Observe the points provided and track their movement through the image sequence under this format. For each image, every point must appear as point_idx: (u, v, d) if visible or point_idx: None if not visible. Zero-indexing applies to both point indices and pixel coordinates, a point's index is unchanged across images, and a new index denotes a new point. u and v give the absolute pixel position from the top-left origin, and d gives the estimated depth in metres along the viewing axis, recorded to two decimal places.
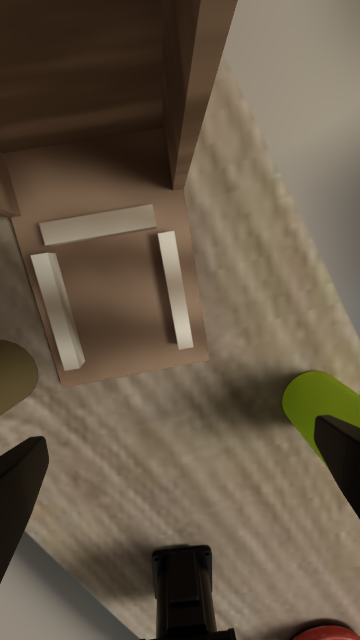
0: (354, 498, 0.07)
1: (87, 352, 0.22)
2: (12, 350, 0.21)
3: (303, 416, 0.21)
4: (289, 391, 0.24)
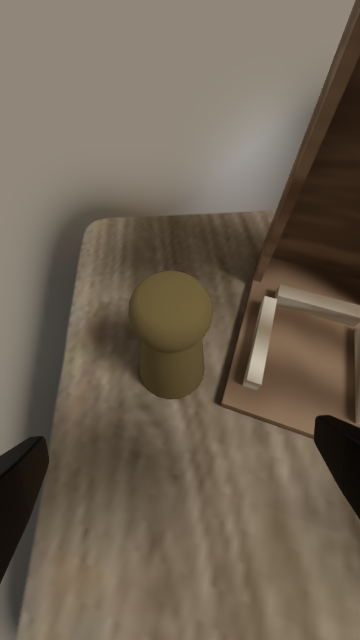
0: (354, 498, 0.07)
1: (262, 384, 0.22)
2: None
3: None
4: None
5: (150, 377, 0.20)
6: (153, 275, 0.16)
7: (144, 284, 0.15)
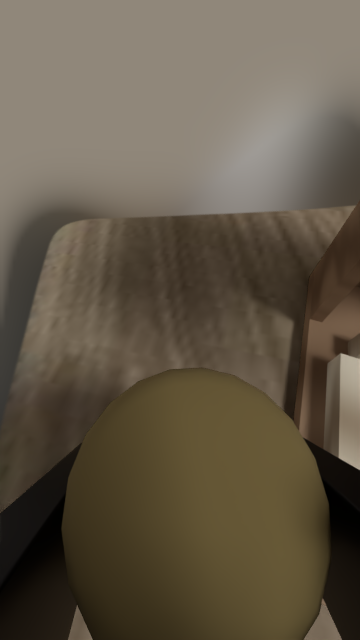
0: None
1: None
2: None
3: None
4: None
5: None
6: (143, 394, 0.05)
7: (112, 437, 0.05)
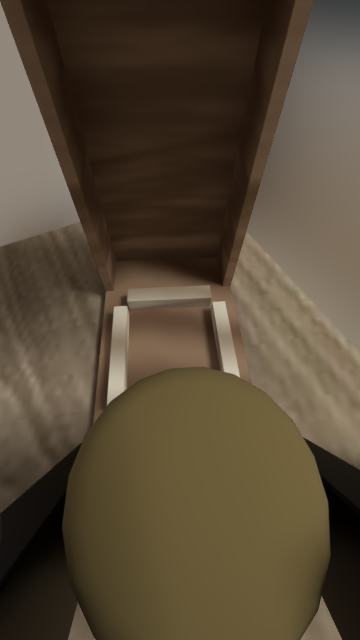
0: None
1: None
2: None
3: None
4: None
5: None
6: (144, 393, 0.05)
7: (113, 435, 0.05)
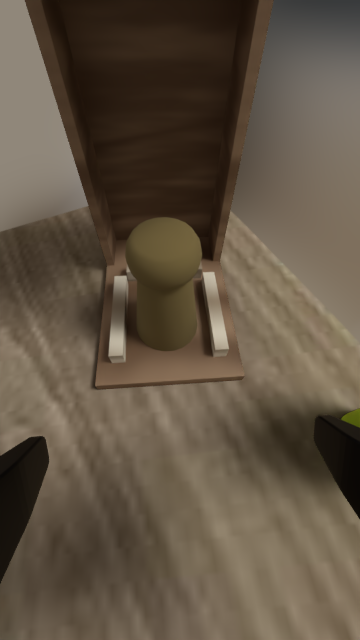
0: (354, 498, 0.07)
1: (129, 354, 0.24)
2: None
3: None
4: None
5: (146, 327, 0.22)
6: (147, 220, 0.17)
7: (139, 226, 0.17)
